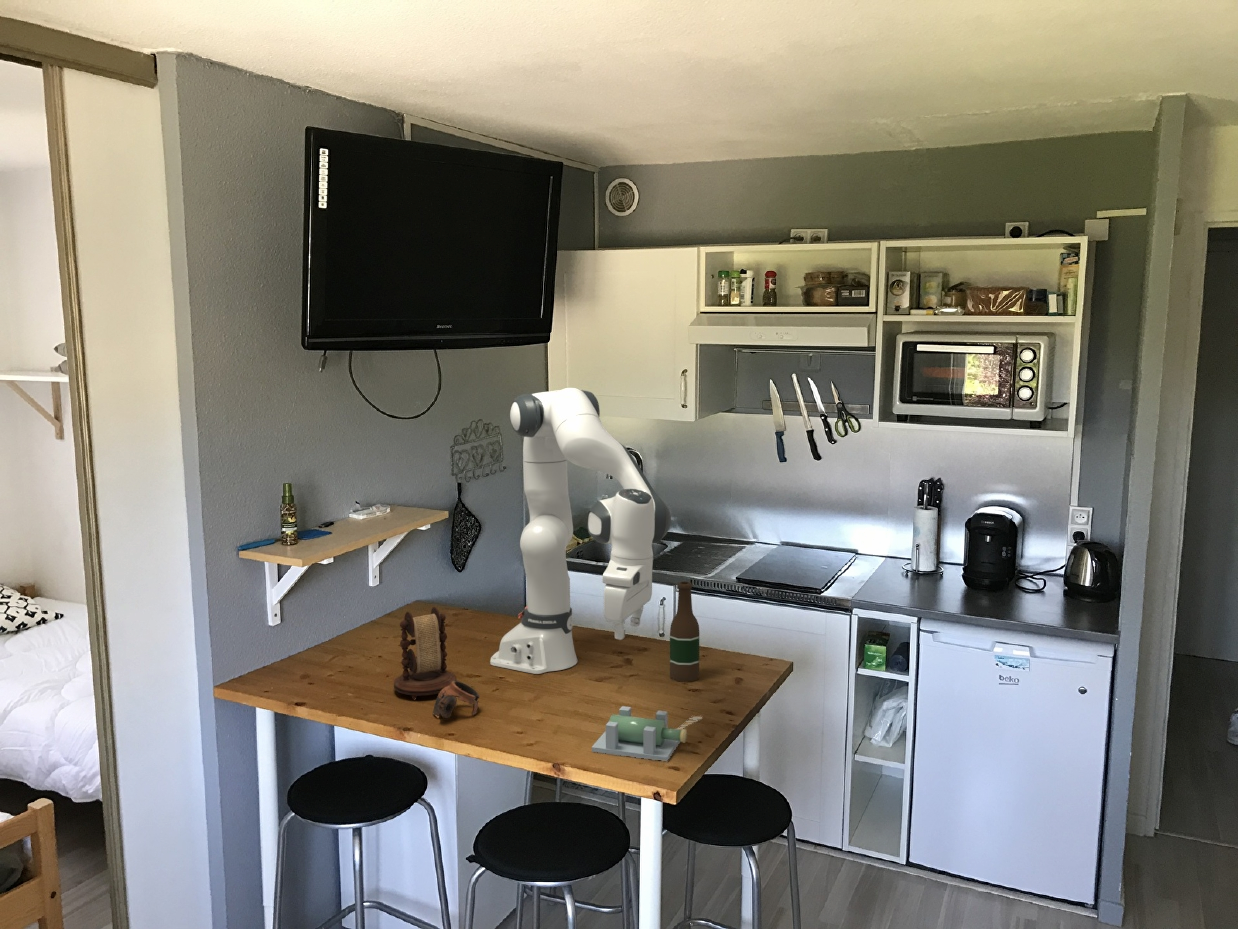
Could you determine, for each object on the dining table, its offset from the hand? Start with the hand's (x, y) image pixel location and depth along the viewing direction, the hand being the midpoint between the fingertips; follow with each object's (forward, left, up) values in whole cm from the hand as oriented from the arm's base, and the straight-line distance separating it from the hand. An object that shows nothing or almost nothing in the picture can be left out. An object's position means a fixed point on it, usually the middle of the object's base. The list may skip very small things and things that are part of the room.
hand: (627, 632), depth 208 cm
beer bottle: (+3, +37, -23) cm, 43 cm away
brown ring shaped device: (-41, -2, -23) cm, 47 cm away
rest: (+4, -5, -22) cm, 23 cm away
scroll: (-54, +10, -23) cm, 60 cm away
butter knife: (+9, +3, -23) cm, 25 cm away
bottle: (+6, -5, -22) cm, 23 cm away
